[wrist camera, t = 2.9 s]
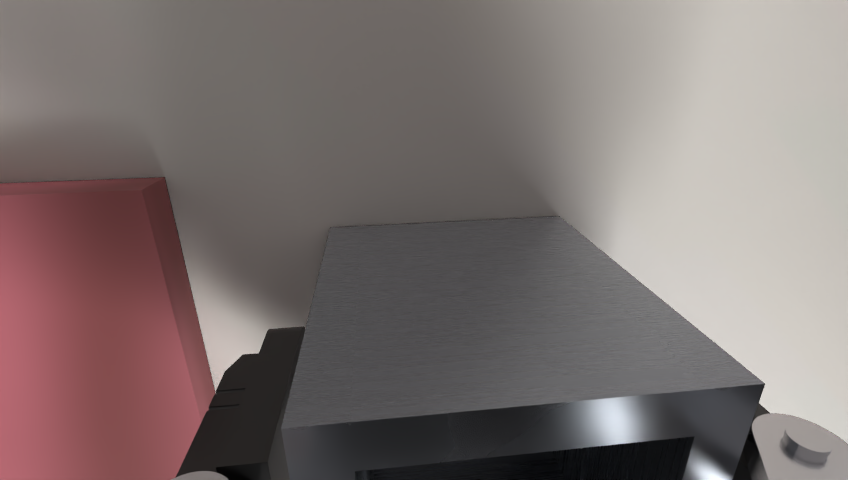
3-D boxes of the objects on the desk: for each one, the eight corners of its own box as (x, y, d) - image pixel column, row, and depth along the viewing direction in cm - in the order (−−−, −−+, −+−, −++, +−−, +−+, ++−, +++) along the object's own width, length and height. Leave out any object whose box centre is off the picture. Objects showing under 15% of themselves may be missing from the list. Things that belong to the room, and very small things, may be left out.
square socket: (559, 216, 11) (764, 383, 5) (539, 395, 13) (672, 656, 7) (330, 227, 10) (281, 428, 5) (348, 413, 12) (329, 710, 7)
